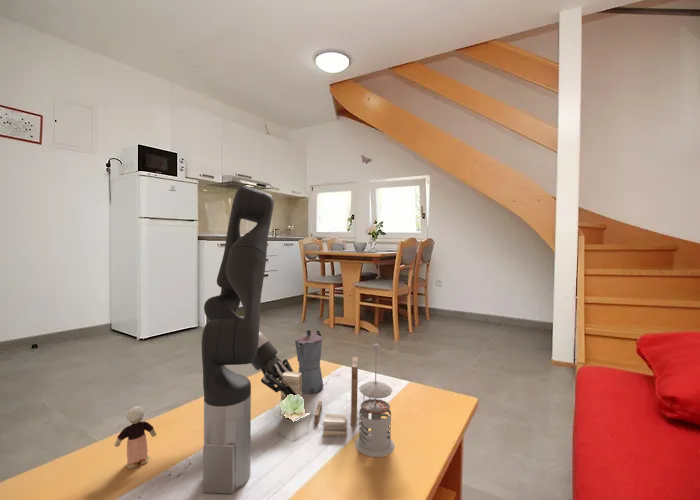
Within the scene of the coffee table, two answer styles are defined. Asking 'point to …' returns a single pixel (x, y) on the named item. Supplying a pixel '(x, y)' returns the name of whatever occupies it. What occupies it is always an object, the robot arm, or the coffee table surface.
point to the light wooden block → (293, 382)
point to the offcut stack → (335, 425)
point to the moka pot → (310, 361)
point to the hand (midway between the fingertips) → (296, 395)
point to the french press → (374, 419)
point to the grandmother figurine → (136, 437)
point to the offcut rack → (353, 396)
